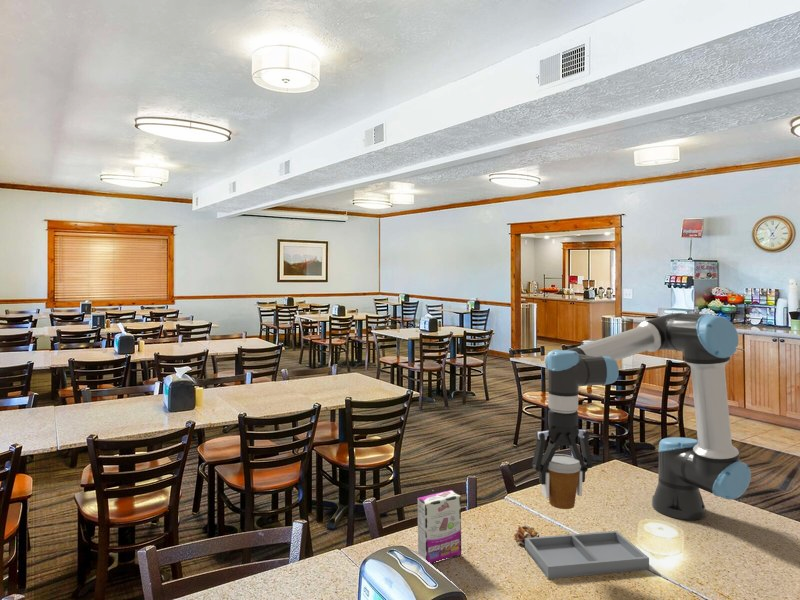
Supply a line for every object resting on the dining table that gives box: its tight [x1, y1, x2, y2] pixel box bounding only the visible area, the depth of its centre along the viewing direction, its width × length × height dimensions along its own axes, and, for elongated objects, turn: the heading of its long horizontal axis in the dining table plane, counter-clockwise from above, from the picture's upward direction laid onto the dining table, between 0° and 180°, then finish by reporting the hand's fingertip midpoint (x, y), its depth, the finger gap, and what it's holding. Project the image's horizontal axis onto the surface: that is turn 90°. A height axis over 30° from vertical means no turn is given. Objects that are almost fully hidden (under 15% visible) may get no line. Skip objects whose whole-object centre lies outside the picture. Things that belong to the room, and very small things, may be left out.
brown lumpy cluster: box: [513, 524, 540, 546], centre depth 148 cm, size 7×12×4 cm, turn 179°
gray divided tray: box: [524, 530, 650, 579], centre depth 136 cm, size 27×15×3 cm, turn 99°
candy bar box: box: [416, 489, 462, 565], centre depth 137 cm, size 11×5×16 cm, turn 117°
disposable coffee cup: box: [547, 453, 581, 510], centre depth 135 cm, size 10×10×12 cm
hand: (561, 494), depth 135 cm, fingers closed on disposable coffee cup, 8 cm apart
